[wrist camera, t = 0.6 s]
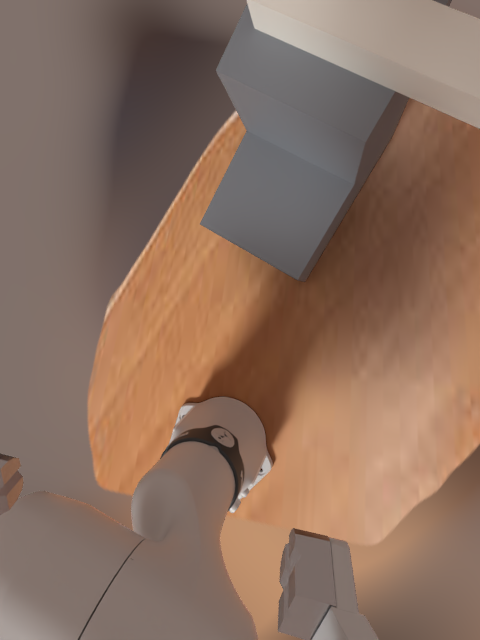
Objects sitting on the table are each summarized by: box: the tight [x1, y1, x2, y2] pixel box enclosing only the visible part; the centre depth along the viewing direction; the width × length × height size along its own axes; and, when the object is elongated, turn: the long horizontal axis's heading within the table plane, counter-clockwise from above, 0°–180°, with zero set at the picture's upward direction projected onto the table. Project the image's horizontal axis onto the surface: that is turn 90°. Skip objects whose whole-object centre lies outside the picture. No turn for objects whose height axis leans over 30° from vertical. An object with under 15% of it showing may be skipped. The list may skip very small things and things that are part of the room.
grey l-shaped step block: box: [200, 0, 452, 282], centre depth 40 cm, size 24×14×26 cm, turn 151°
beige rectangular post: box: [247, 0, 480, 129], centre depth 24 cm, size 4×21×3 cm, turn 60°
